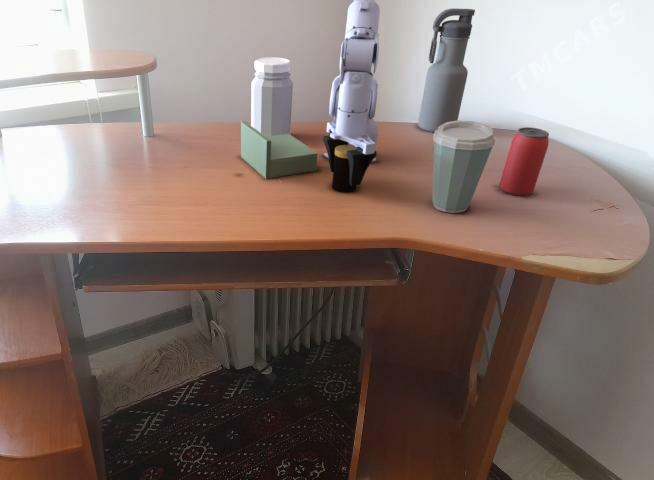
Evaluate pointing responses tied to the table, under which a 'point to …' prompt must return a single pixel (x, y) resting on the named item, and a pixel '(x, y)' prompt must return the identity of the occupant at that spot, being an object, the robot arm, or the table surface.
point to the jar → (271, 96)
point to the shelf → (275, 153)
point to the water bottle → (446, 70)
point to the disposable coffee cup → (459, 163)
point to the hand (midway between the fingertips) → (345, 177)
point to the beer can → (524, 161)
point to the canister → (342, 169)
